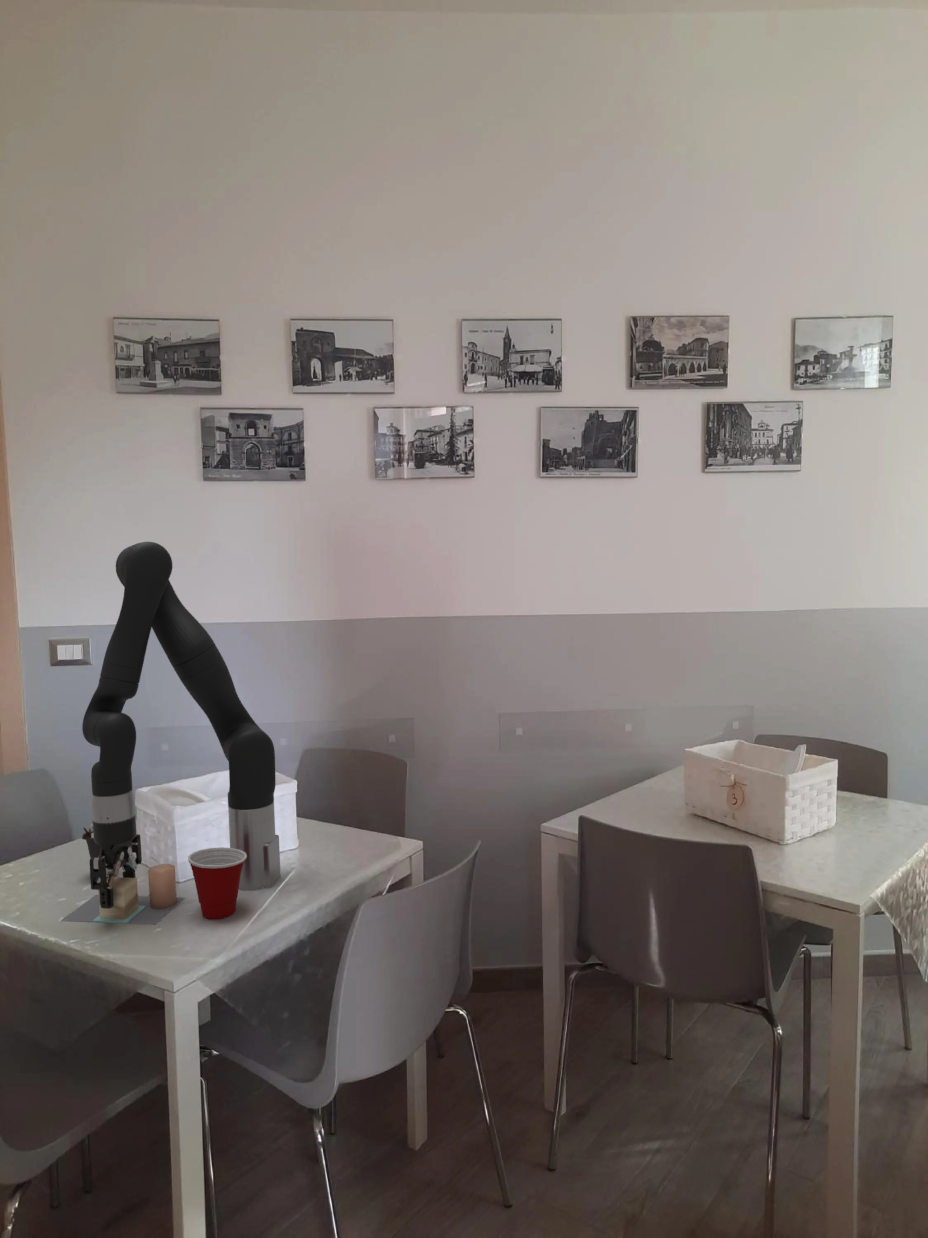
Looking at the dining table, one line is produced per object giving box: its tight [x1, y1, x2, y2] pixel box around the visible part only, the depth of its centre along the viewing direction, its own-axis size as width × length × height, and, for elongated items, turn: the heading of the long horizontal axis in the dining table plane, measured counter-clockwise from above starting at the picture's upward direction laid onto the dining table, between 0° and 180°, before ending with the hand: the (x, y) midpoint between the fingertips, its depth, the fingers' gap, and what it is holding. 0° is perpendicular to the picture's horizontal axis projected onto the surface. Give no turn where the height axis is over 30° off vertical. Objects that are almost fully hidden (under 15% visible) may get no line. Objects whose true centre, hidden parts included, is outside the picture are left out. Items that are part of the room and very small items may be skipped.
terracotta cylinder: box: [147, 863, 178, 909], centre depth 164 cm, size 5×5×7 cm
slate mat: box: [60, 894, 185, 926], centre depth 163 cm, size 19×12×1 cm, turn 83°
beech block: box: [97, 876, 139, 919], centre depth 160 cm, size 5×5×6 cm
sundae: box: [81, 821, 109, 881], centre depth 178 cm, size 7×7×15 cm
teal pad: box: [91, 906, 146, 924], centre depth 160 cm, size 7×7×1 cm
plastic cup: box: [187, 847, 247, 920], centre depth 160 cm, size 11×11×12 cm
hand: (119, 898), depth 160 cm, fingers open, 7 cm apart
